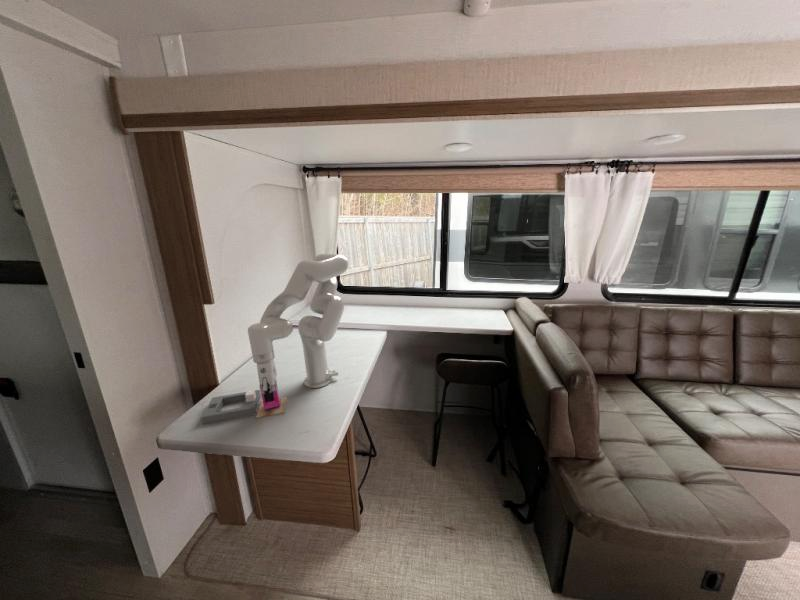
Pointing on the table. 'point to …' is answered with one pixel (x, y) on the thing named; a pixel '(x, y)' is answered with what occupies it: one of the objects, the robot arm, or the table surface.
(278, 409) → the coaster
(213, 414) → the grey rectangular frame
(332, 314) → the robot arm
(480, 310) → the table surface
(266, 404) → the supplement box
